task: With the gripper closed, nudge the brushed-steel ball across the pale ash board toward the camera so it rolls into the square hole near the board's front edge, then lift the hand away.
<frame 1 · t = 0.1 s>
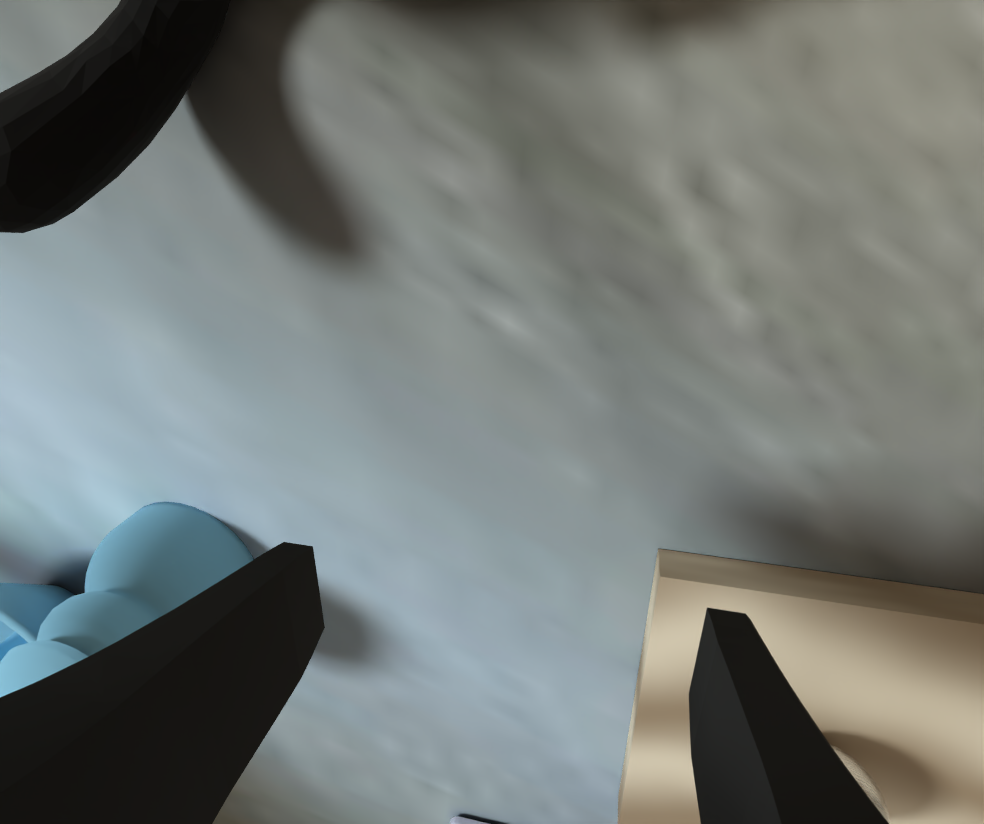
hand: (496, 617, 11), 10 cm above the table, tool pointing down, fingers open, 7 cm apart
light blue lumpy shape: (115, 586, 29), on the table
ash board: (938, 742, 22), on the table
steel ball: (818, 806, 20), point 3 cm above the table, touching ash board
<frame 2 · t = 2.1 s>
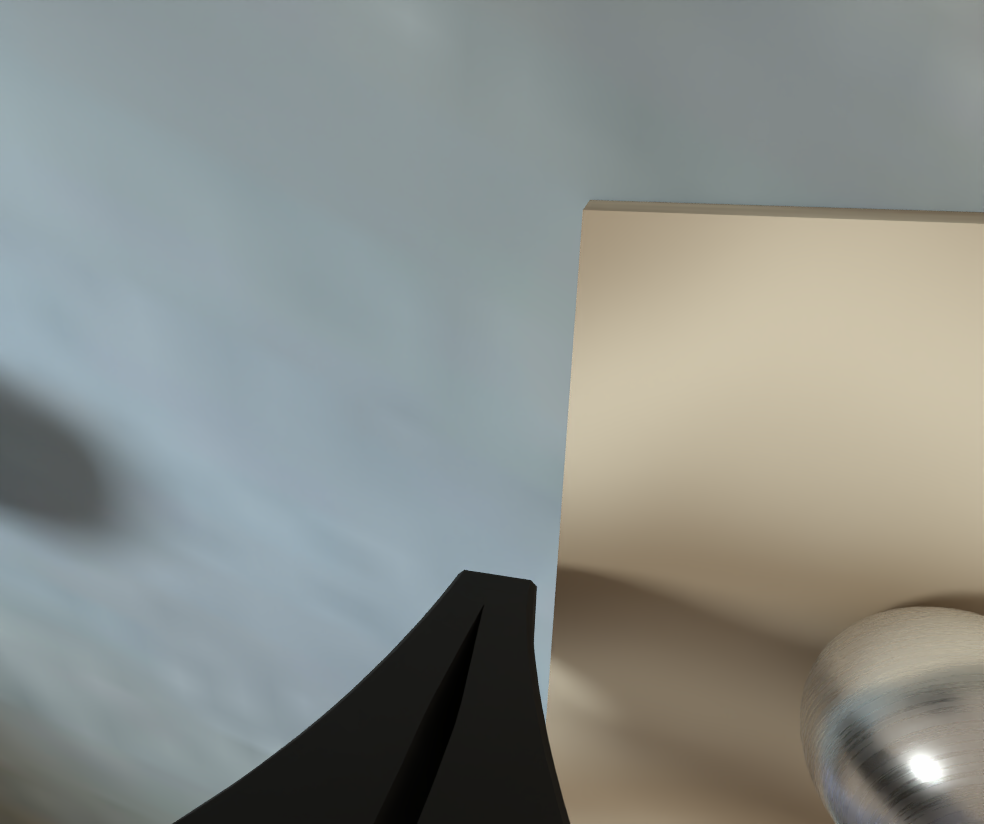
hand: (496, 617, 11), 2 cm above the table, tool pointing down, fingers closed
steel ball: (956, 753, 8), point 3 cm above the table, touching ash board
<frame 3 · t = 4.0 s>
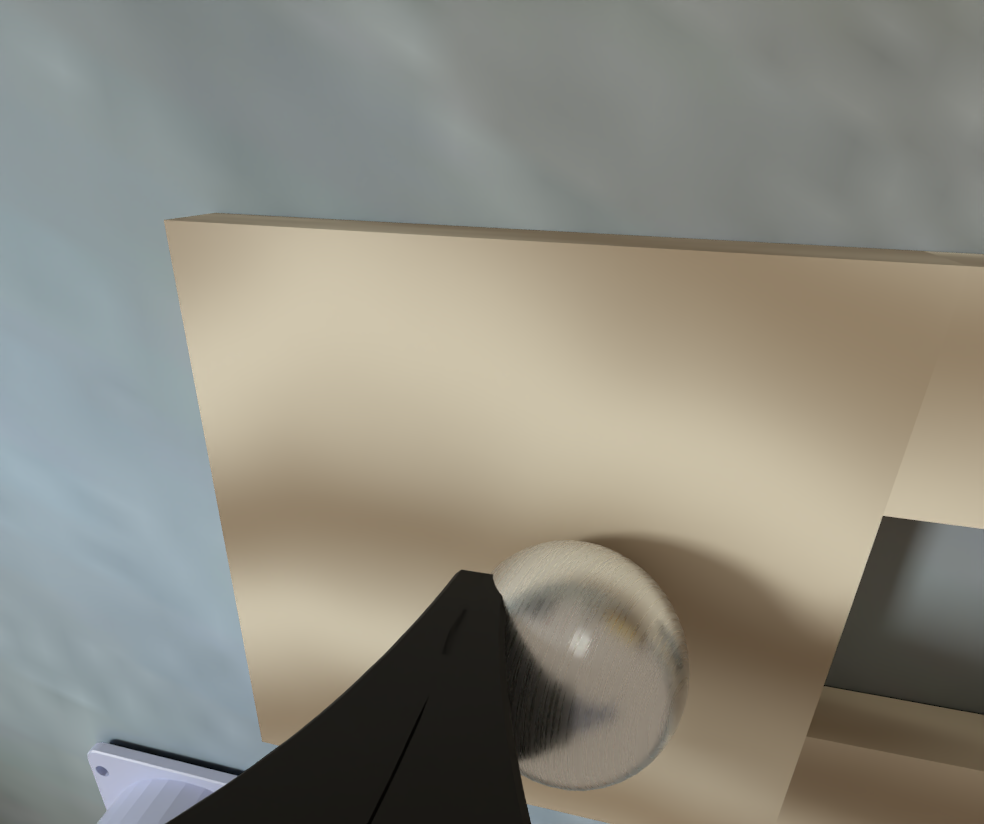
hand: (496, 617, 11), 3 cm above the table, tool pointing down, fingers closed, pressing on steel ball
ash board: (708, 569, 13), on the table
steel ball: (570, 656, 10), point 3 cm above the table, tilted 65°, touching ash board, gripper
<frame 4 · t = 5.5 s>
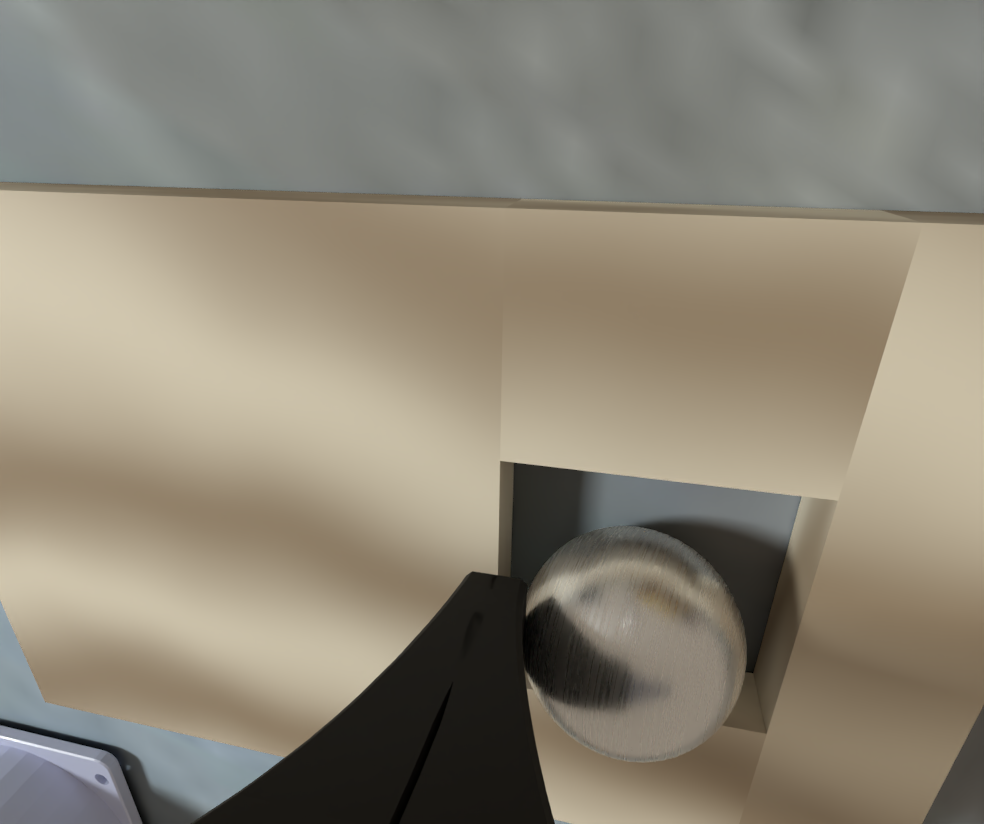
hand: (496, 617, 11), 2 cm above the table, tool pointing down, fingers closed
ash board: (413, 523, 13), on the table
steel ball: (628, 636, 11), point 2 cm above the table, tilted 105°, touching gripper
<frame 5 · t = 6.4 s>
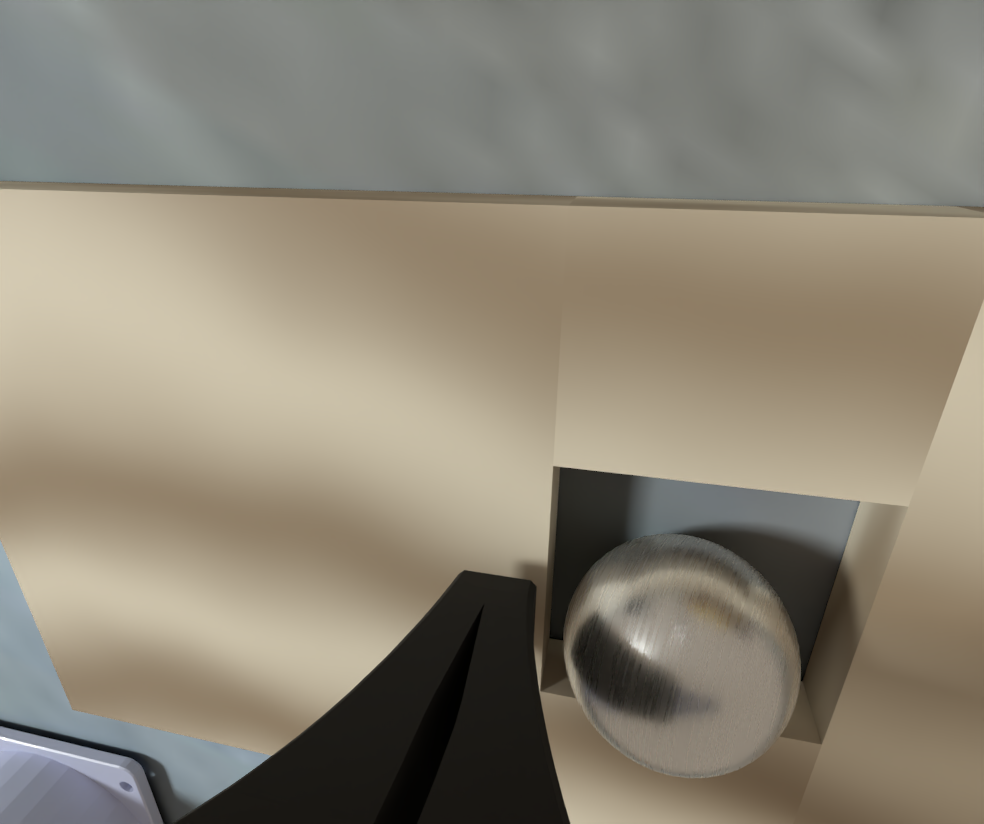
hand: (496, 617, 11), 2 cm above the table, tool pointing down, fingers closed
ash board: (454, 528, 13), on the table
steel ball: (675, 647, 11), point 2 cm above the table, tilted 109°
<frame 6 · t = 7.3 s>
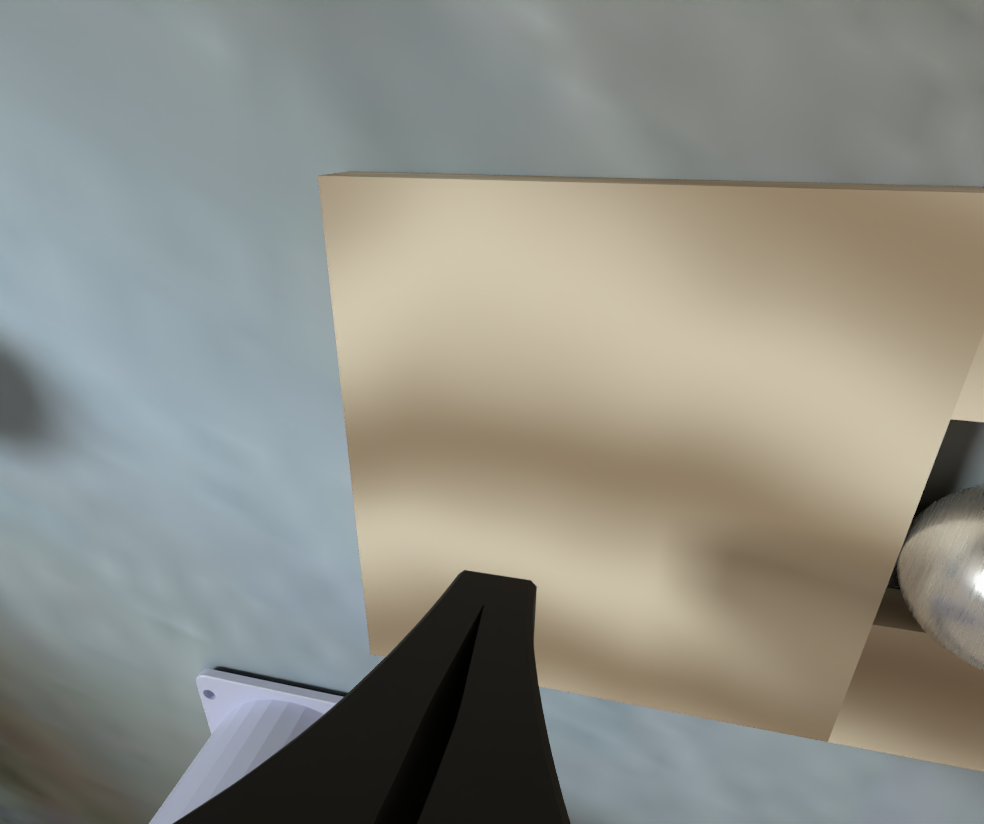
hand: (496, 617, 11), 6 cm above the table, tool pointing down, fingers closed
ash board: (783, 482, 15), on the table
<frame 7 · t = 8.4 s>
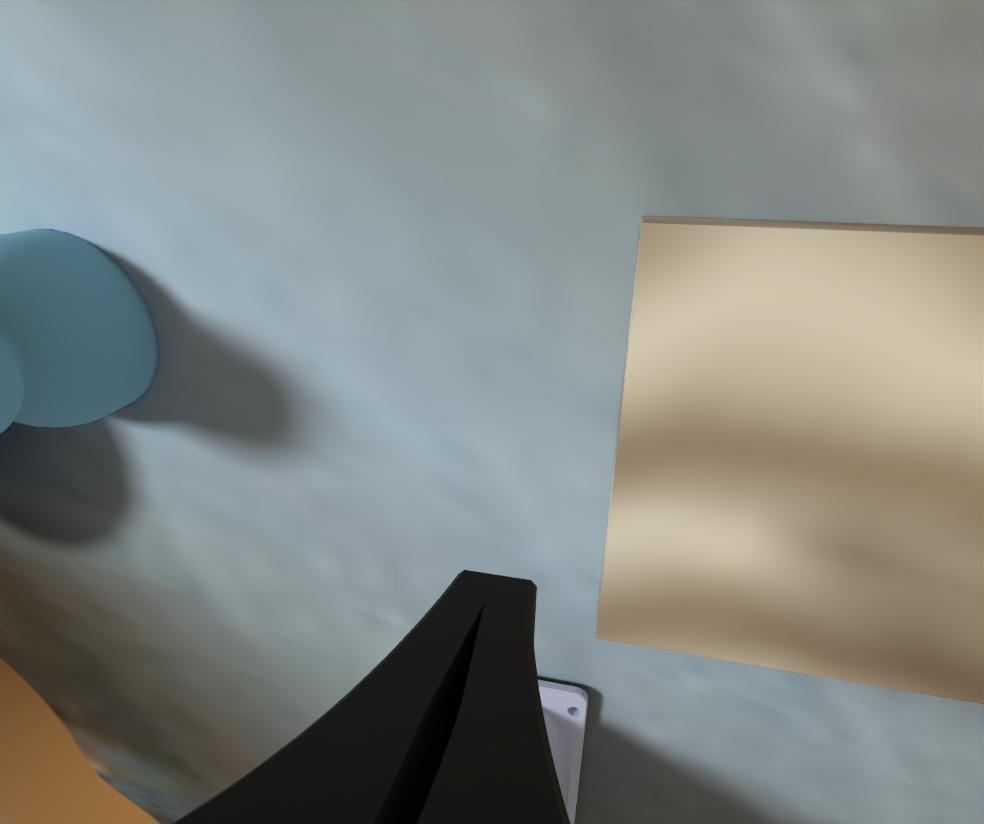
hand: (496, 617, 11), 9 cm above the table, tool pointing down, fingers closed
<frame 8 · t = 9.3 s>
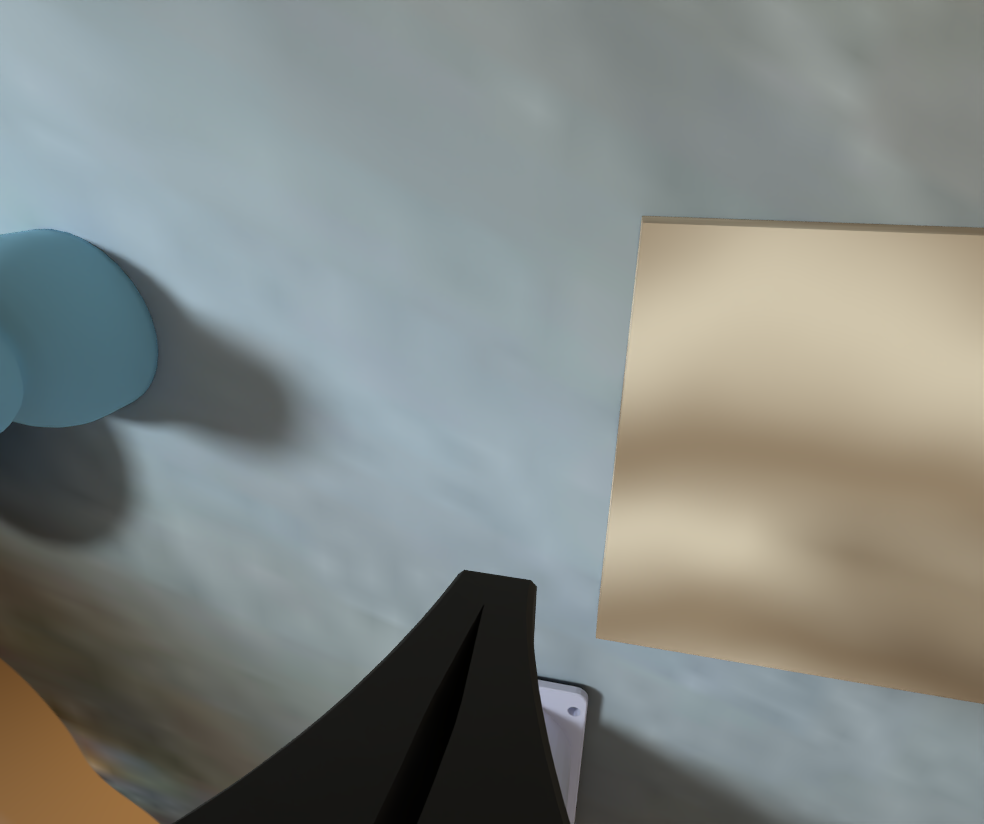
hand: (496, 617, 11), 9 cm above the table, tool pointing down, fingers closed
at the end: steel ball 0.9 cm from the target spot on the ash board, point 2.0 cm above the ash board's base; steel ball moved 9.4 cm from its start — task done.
